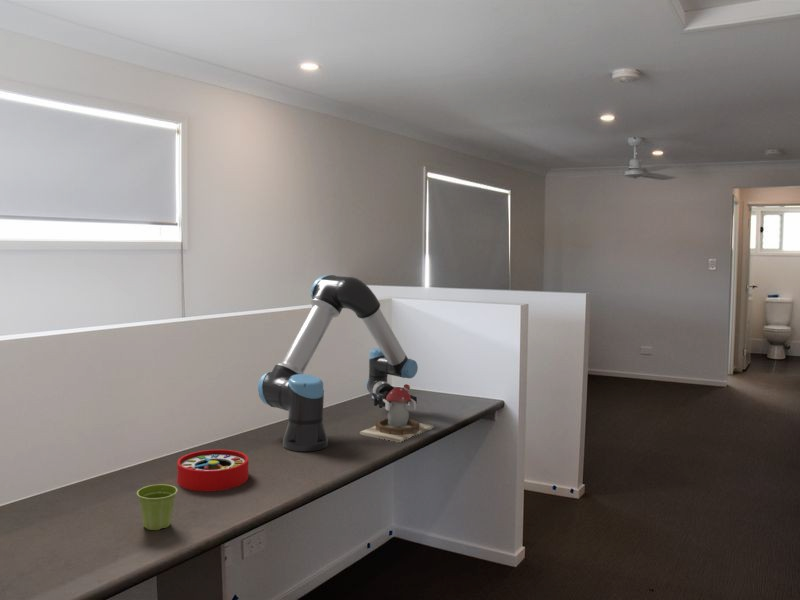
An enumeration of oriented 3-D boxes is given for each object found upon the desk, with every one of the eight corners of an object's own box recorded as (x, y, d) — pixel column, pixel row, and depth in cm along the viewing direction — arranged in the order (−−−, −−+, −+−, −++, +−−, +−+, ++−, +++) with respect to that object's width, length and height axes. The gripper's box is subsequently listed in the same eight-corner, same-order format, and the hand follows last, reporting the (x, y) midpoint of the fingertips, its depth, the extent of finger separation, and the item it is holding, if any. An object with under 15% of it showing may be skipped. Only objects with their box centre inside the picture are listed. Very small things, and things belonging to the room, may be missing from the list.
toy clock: (261, 461, 203) (196, 476, 190) (261, 481, 204) (196, 497, 190) (227, 445, 218) (165, 457, 204) (227, 463, 218) (165, 477, 205)
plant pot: (182, 518, 176) (182, 484, 175) (171, 534, 166) (171, 498, 166) (144, 517, 175) (144, 483, 175) (131, 533, 166) (131, 497, 165)
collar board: (399, 442, 245) (399, 434, 244) (359, 434, 254) (360, 426, 253) (433, 428, 265) (433, 420, 265) (395, 420, 274) (395, 413, 274)
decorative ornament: (410, 422, 262) (411, 383, 261) (410, 427, 255) (411, 386, 254) (385, 421, 262) (386, 382, 261) (385, 426, 256) (385, 386, 254)
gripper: (410, 400, 279) (430, 414, 258) (357, 403, 272) (372, 418, 251) (411, 382, 278) (430, 394, 257) (357, 384, 272) (372, 397, 250)
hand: (401, 406), depth 254 cm, fingers closed on decorative ornament, 9 cm apart
